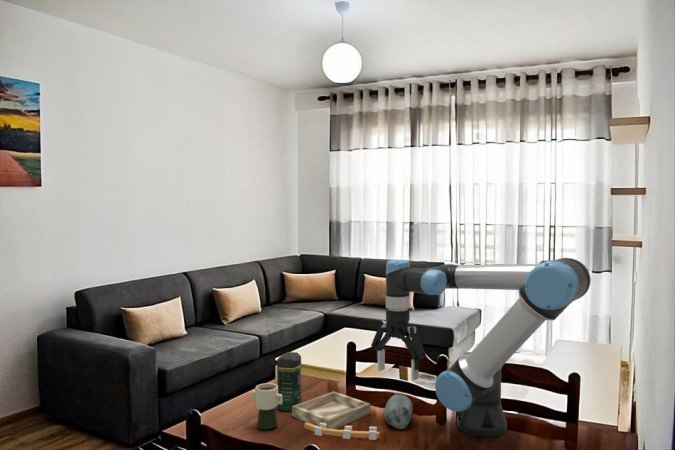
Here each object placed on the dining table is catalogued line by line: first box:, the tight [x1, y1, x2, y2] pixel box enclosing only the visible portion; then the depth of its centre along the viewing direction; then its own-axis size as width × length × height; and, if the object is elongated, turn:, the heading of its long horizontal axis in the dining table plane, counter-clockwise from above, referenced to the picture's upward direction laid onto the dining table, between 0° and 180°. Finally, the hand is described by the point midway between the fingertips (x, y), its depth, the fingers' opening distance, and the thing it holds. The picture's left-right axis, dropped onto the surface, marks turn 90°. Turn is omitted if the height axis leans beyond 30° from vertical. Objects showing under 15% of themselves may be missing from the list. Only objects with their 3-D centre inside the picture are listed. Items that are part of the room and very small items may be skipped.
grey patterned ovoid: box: [383, 394, 414, 430], centre depth 172 cm, size 14×10×10 cm
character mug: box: [251, 382, 283, 430], centre depth 169 cm, size 11×7×13 cm, turn 68°
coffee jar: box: [276, 351, 303, 412], centre depth 186 cm, size 10×8×19 cm
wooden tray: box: [291, 390, 371, 430], centre depth 178 cm, size 17×19×4 cm
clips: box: [313, 423, 378, 441], centre depth 163 cm, size 19×5×2 cm, turn 78°
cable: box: [303, 422, 380, 439], centre depth 164 cm, size 24×4×1 cm, turn 71°
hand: (397, 374), depth 171 cm, fingers open, 13 cm apart
